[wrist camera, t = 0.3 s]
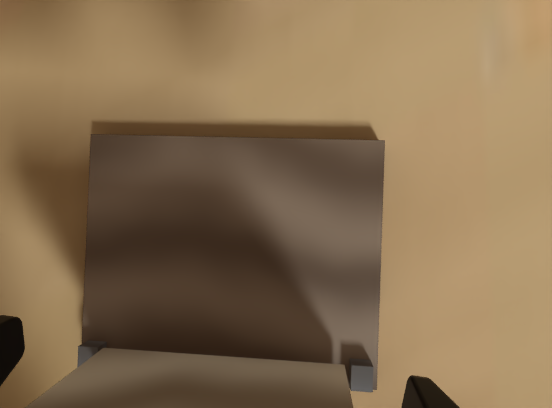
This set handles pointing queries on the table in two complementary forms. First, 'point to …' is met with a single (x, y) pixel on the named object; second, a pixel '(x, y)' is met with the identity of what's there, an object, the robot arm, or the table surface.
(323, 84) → the table surface
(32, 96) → the table surface
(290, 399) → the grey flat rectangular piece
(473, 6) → the table surface
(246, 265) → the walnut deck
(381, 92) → the table surface
